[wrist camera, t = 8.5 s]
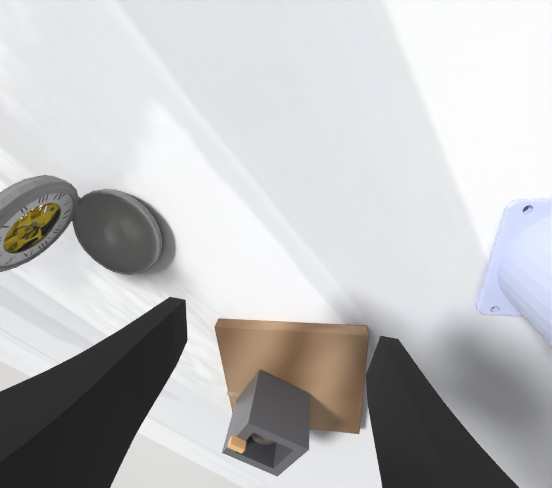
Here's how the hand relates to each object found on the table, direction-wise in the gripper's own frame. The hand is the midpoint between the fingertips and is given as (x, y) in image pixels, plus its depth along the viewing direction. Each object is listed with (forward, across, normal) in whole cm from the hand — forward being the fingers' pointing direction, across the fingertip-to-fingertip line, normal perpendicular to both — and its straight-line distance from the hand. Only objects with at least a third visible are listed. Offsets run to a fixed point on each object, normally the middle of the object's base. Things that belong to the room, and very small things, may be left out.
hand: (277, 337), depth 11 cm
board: (+10, -1, +14) cm, 17 cm away
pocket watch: (+10, +14, +2) cm, 17 cm away
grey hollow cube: (+9, 0, +16) cm, 18 cm away
